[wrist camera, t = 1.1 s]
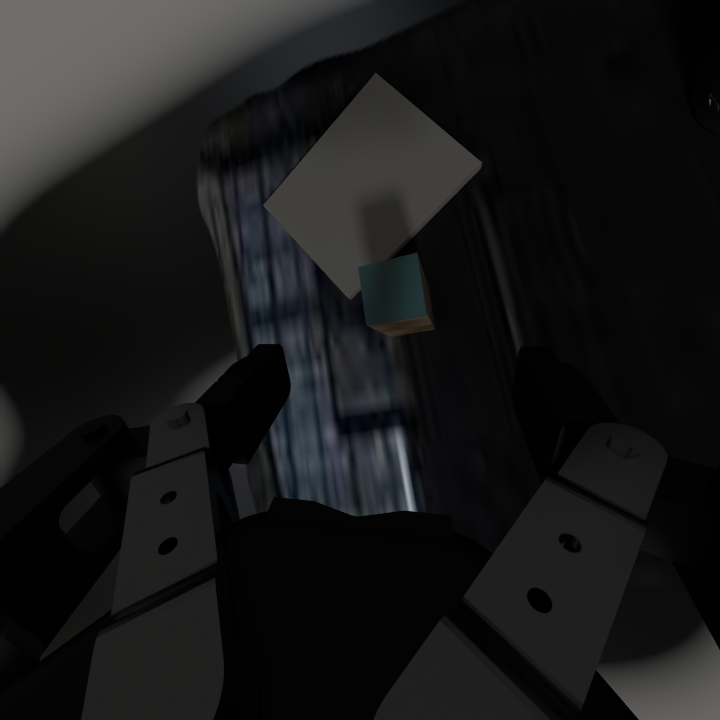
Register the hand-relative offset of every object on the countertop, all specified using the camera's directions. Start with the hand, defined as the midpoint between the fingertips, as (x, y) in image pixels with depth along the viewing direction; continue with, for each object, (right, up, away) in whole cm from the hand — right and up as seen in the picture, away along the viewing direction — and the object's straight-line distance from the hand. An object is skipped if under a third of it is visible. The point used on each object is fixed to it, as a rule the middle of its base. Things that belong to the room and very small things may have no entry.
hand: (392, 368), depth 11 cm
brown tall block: (+4, +6, +26) cm, 27 cm away
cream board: (-1, +21, +28) cm, 34 cm away
